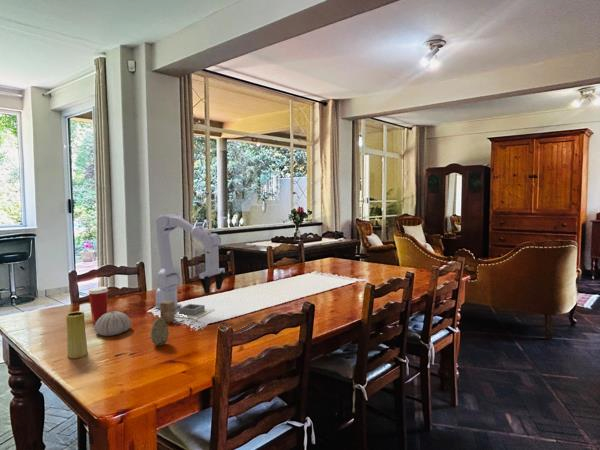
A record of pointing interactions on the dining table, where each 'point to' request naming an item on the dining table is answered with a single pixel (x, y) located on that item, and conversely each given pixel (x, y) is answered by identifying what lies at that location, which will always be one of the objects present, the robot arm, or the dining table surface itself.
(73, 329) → the vase
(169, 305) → the square peg
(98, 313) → the paper cup
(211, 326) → the dining table surface
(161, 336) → the decorative egg
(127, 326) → the sea urchin shell
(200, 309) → the grey square socket
